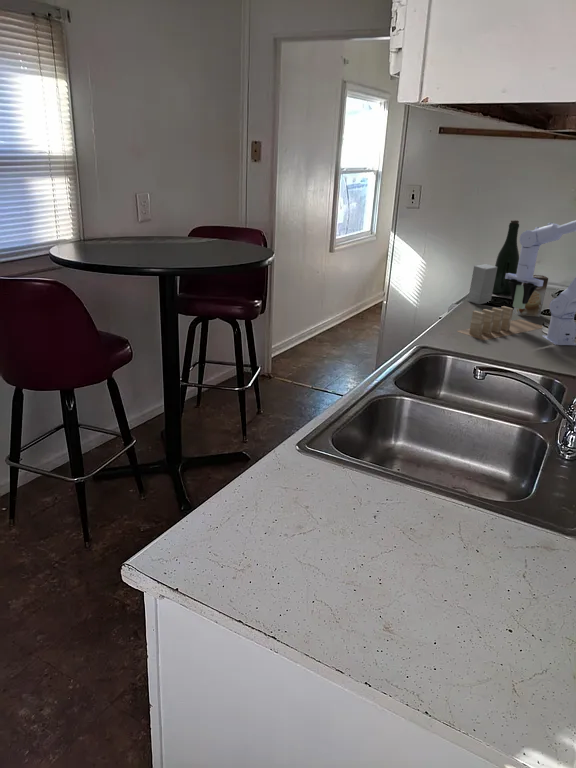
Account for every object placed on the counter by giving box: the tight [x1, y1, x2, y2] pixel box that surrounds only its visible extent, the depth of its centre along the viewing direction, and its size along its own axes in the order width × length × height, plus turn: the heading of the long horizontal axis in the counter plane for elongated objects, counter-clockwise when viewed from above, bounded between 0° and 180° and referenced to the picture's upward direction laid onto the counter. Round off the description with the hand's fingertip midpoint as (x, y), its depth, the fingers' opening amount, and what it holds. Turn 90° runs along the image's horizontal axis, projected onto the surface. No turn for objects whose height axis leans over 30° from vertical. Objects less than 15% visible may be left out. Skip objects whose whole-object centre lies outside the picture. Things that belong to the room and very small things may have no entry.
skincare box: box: [467, 263, 497, 305], centre depth 256 cm, size 8×7×16 cm
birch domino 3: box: [491, 307, 504, 332], centre depth 214 cm, size 2×4×8 cm, turn 35°
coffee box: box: [513, 274, 549, 318], centre depth 238 cm, size 9×6×16 cm
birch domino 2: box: [481, 308, 495, 334], centre depth 211 cm, size 2×4×8 cm, turn 35°
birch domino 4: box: [500, 305, 514, 331], centre depth 216 cm, size 2×4×8 cm, turn 34°
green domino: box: [512, 285, 525, 309], centre depth 217 cm, size 2×4×8 cm, turn 34°
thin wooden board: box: [456, 318, 543, 341], centre depth 218 cm, size 37×12×1 cm, turn 125°
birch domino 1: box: [469, 310, 485, 336], centre depth 208 cm, size 2×4×8 cm, turn 35°
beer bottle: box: [492, 219, 520, 296], centre depth 272 cm, size 10×10×33 cm
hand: (519, 302), depth 218 cm, fingers closed on green domino, 4 cm apart
